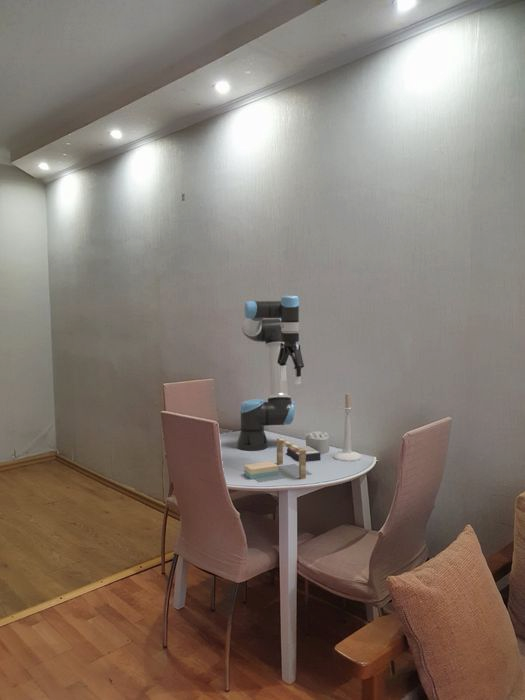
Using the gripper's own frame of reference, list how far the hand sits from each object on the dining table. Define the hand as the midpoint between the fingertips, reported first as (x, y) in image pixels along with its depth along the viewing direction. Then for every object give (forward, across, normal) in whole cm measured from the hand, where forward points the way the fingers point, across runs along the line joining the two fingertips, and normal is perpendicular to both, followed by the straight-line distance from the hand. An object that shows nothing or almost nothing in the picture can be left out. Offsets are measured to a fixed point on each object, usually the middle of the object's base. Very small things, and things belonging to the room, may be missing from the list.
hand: (290, 382), depth 223 cm
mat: (+37, +6, -9) cm, 38 cm away
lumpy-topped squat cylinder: (+37, -18, +24) cm, 48 cm away
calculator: (+37, -11, +12) cm, 41 cm away
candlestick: (+37, -2, +30) cm, 48 cm away
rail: (+37, +6, -3) cm, 37 cm away
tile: (+32, +6, -16) cm, 37 cm away
